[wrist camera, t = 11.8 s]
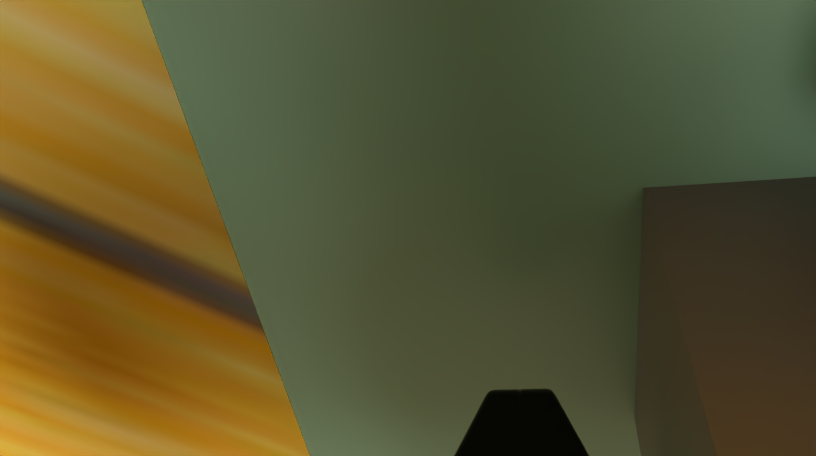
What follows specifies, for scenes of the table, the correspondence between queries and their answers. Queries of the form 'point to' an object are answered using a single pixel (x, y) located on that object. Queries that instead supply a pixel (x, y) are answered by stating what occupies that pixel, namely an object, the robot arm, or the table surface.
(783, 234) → the plug
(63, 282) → the table surface
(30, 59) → the table surface
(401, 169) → the board
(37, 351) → the table surface
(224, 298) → the table surface
